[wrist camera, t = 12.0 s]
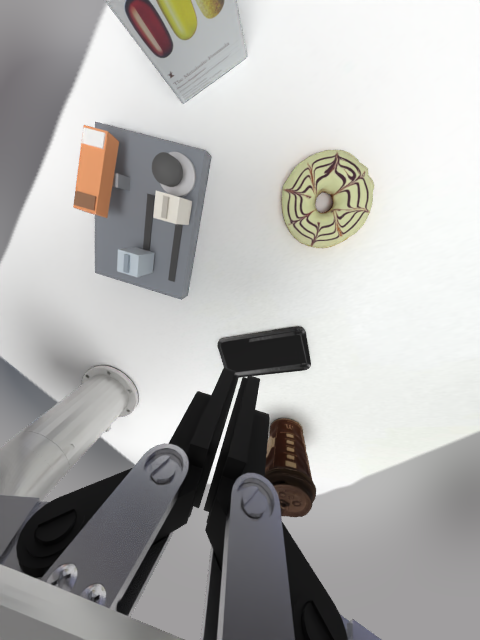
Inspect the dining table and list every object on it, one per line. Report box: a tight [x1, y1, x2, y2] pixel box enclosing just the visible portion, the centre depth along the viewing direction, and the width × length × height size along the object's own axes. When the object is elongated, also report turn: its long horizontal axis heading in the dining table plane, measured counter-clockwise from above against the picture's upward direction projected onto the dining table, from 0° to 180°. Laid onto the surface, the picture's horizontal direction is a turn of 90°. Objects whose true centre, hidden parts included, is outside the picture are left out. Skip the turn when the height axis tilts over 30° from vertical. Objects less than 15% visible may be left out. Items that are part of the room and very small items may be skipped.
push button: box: [152, 152, 183, 187], centre depth 27 cm, size 3×3×2 cm
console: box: [95, 122, 211, 300], centre depth 33 cm, size 20×15×5 cm
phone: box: [218, 327, 311, 377], centre depth 40 cm, size 8×1×15 cm
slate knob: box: [117, 247, 155, 277], centre depth 32 cm, size 3×3×4 cm
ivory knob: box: [153, 191, 192, 225], centre depth 29 cm, size 3×3×4 cm
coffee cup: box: [265, 418, 316, 517], centre depth 39 cm, size 9×8×13 cm
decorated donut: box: [282, 150, 374, 248], centre depth 29 cm, size 10×11×4 cm
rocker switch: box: [73, 125, 119, 218], centre depth 28 cm, size 9×3×2 cm, turn 165°
